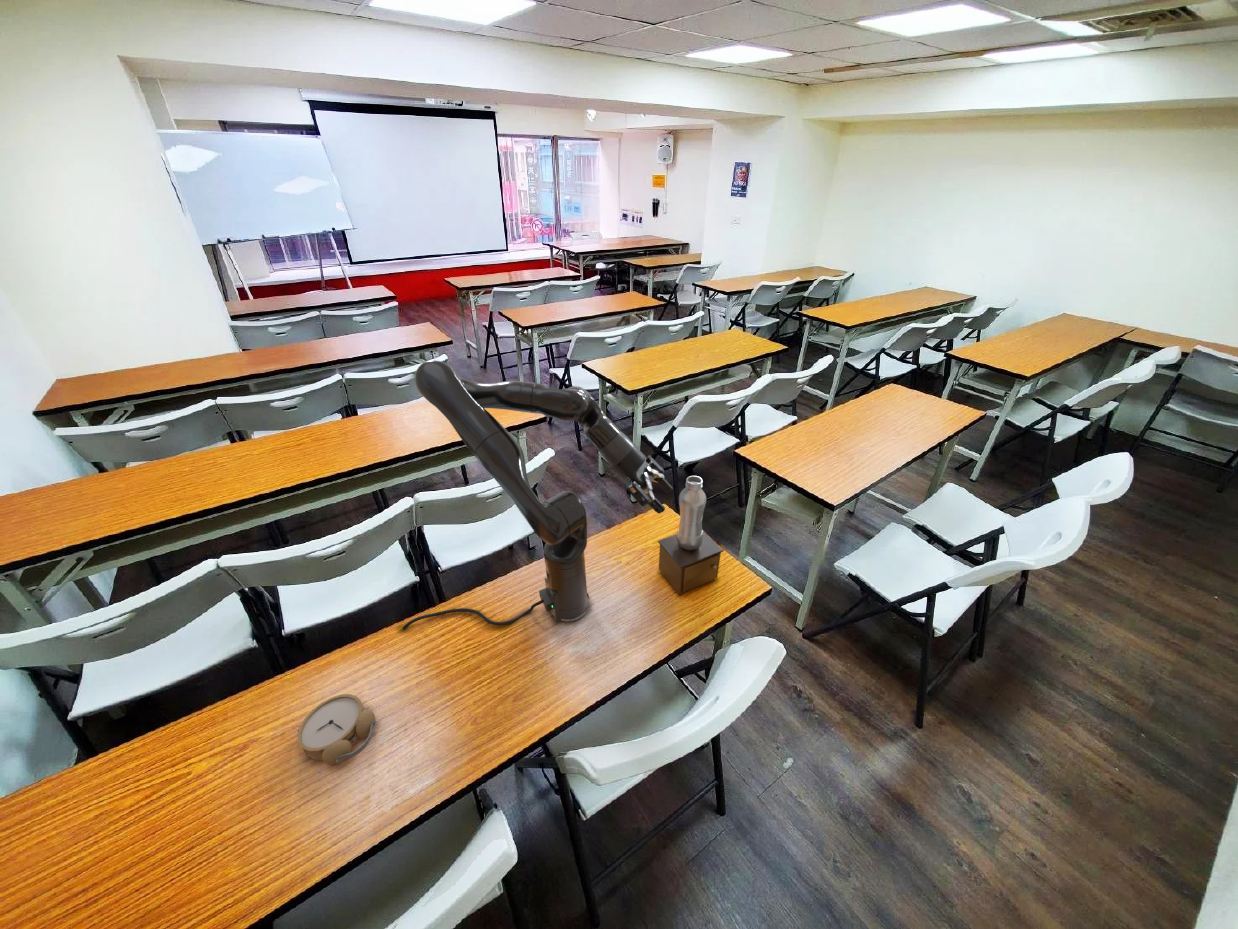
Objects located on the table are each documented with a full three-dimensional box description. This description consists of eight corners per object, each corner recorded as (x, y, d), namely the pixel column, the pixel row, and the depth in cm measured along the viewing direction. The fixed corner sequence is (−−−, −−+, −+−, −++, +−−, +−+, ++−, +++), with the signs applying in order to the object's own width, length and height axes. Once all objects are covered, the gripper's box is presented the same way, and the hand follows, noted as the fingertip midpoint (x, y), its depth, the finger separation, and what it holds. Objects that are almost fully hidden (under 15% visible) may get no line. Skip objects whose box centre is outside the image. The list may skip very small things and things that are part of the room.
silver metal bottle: (701, 555, 117) (708, 489, 106) (674, 551, 118) (678, 486, 107) (702, 538, 122) (709, 473, 111) (676, 535, 123) (681, 471, 113)
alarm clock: (337, 685, 97) (383, 709, 89) (348, 701, 99) (393, 725, 92) (283, 735, 88) (329, 765, 81) (296, 750, 90) (342, 782, 83)
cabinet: (680, 601, 118) (683, 569, 112) (656, 571, 127) (657, 540, 121) (721, 583, 123) (725, 552, 117) (695, 556, 132) (698, 525, 126)
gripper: (620, 447, 120) (662, 492, 123) (601, 477, 108) (648, 525, 111) (641, 432, 115) (683, 478, 118) (623, 461, 104) (671, 511, 107)
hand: (666, 501), depth 115 cm, fingers open, 8 cm apart
